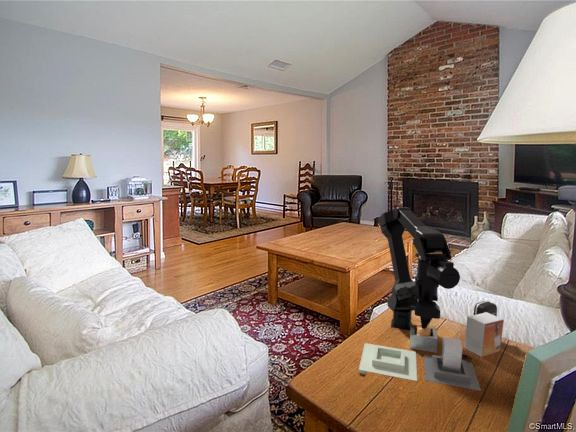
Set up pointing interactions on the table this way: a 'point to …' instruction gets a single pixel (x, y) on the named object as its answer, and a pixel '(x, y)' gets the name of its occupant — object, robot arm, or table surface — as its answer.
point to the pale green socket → (388, 361)
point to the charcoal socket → (450, 373)
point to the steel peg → (451, 355)
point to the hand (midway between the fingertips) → (423, 328)
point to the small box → (483, 334)
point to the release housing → (423, 340)
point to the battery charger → (485, 308)
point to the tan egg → (423, 331)
